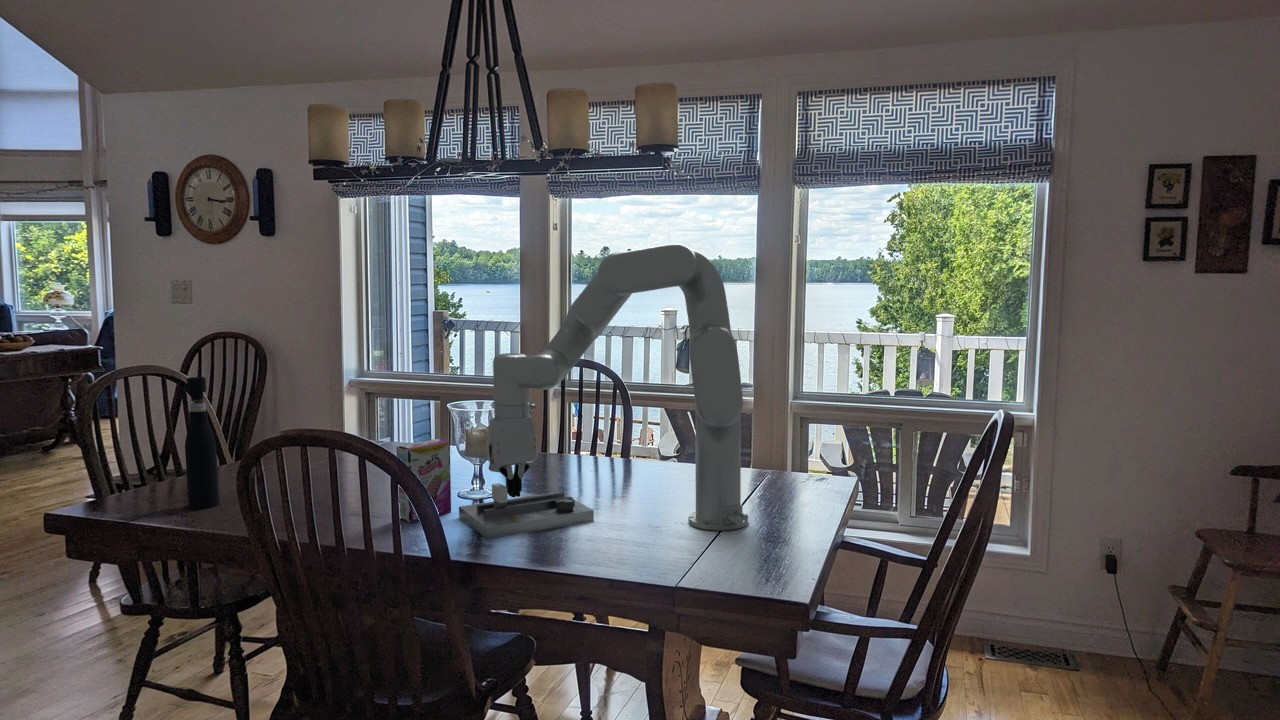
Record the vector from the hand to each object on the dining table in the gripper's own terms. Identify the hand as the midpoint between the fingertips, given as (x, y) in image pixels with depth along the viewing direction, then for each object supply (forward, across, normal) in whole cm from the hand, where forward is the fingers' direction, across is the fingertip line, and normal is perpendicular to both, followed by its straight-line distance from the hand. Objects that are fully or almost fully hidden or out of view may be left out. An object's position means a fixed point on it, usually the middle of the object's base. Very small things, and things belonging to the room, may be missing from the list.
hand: (514, 495), depth 183 cm
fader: (+3, +3, 0) cm, 4 cm away
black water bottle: (+6, +57, -50) cm, 76 cm away
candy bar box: (+6, +15, -14) cm, 22 cm away
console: (+6, -3, 0) cm, 6 cm away
